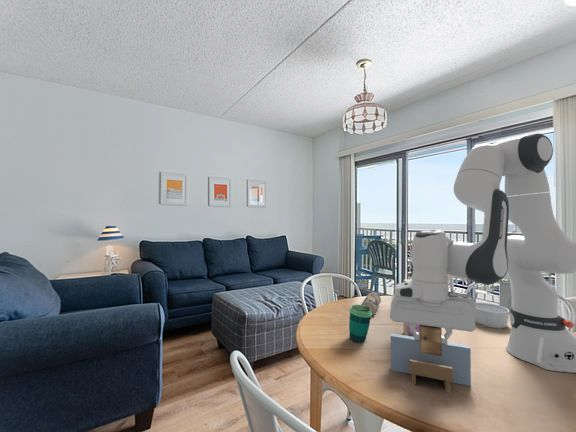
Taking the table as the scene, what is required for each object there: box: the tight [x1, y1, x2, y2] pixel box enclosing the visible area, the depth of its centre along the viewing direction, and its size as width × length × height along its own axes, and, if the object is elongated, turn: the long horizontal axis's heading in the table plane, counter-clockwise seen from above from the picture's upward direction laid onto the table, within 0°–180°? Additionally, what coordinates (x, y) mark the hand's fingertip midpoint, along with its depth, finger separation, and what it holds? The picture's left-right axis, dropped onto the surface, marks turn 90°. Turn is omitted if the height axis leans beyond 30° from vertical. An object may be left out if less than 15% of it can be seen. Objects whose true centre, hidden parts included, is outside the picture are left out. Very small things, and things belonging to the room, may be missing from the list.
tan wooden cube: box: [419, 325, 443, 356], centre depth 72 cm, size 5×4×7 cm
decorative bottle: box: [360, 291, 382, 316], centre depth 129 cm, size 26×8×7 cm, turn 153°
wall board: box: [390, 333, 472, 393], centre depth 74 cm, size 20×8×10 cm, turn 67°
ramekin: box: [473, 302, 510, 329], centre depth 115 cm, size 13×13×7 cm
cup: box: [348, 304, 373, 344], centre depth 99 cm, size 8×8×12 cm
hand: (430, 341), depth 72 cm, fingers closed on tan wooden cube, 5 cm apart
